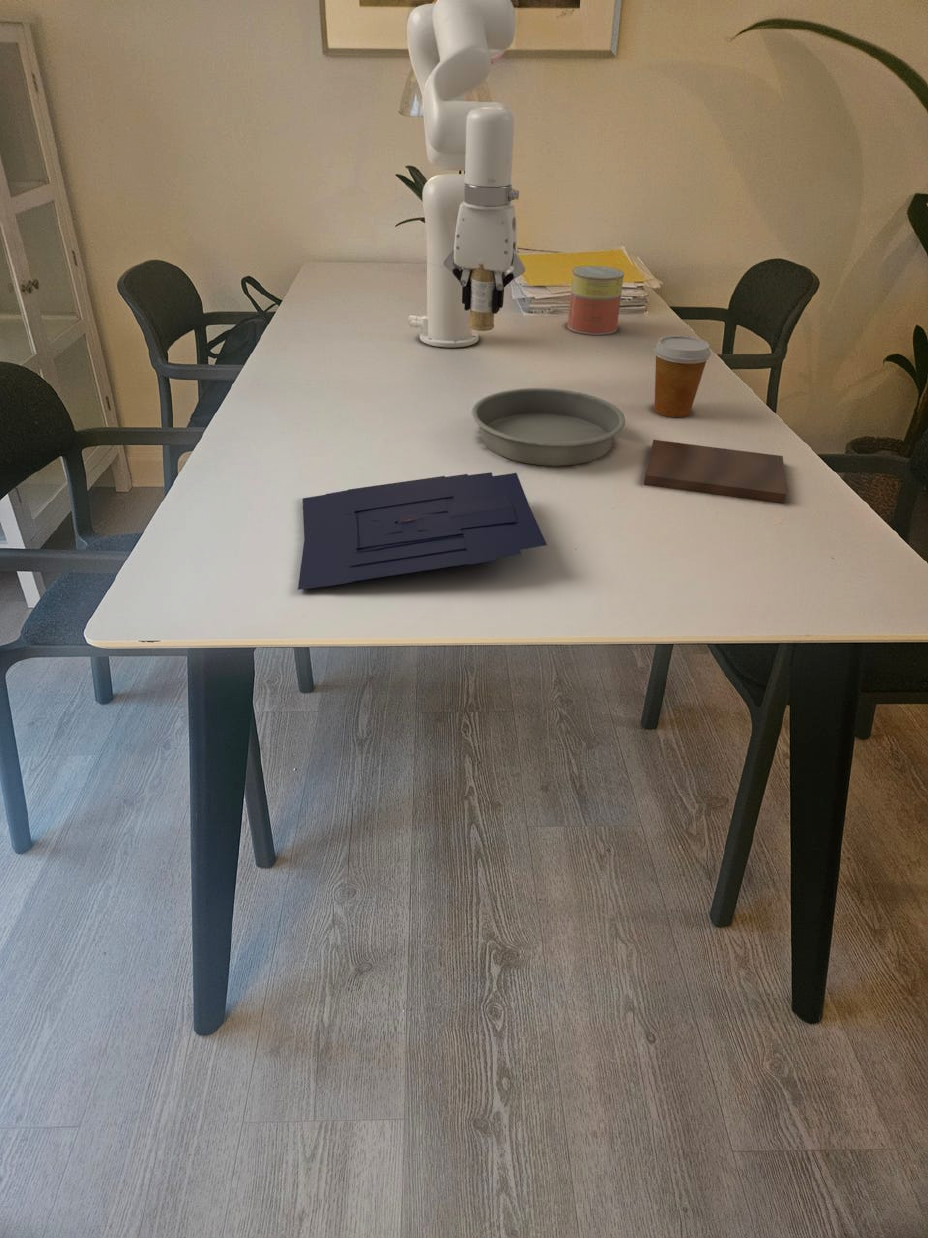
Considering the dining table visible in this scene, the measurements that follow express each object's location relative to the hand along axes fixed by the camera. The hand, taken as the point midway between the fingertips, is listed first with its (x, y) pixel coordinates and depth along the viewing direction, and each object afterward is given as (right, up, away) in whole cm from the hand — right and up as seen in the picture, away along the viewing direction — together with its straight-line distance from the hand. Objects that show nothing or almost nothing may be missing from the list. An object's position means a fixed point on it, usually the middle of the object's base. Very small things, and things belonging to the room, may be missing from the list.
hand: (482, 308), depth 151 cm
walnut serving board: (+35, -33, -20) cm, 52 cm away
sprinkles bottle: (0, -3, +2) cm, 4 cm away
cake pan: (+10, -25, -11) cm, 29 cm away
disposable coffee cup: (+34, -18, +2) cm, 38 cm away
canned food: (+26, +11, +43) cm, 52 cm away
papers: (-9, -44, -39) cm, 60 cm away
